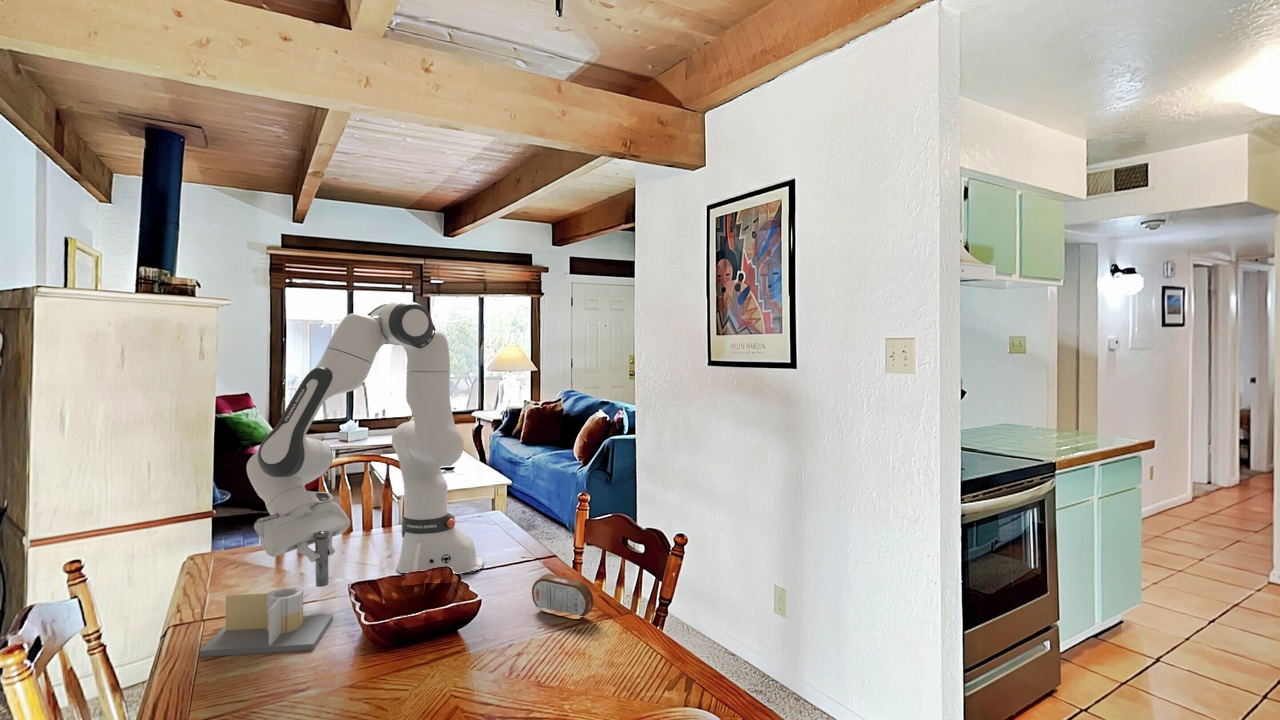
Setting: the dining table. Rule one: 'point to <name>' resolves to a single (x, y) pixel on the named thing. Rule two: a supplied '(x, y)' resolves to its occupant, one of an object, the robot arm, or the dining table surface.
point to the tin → (562, 595)
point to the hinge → (267, 625)
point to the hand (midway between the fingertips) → (323, 557)
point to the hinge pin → (322, 557)
